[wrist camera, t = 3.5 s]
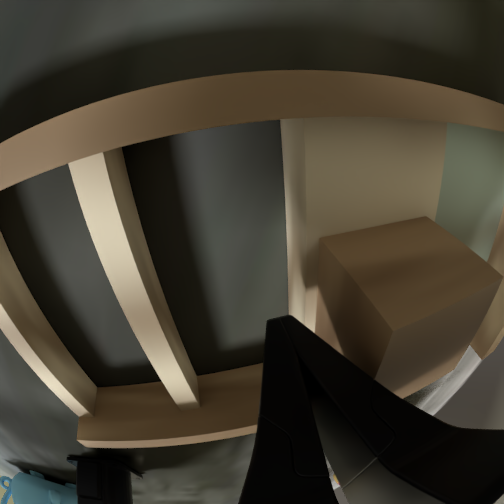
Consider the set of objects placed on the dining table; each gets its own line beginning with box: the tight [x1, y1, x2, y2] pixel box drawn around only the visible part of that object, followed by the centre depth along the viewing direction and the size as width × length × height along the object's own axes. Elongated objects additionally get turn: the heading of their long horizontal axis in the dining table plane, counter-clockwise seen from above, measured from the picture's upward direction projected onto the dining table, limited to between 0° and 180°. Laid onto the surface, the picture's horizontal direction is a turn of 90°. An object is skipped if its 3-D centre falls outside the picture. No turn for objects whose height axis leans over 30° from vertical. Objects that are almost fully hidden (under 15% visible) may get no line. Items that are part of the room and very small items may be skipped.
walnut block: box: [315, 216, 503, 399], centre depth 8 cm, size 4×4×4 cm
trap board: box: [0, 70, 504, 448], centre depth 9 cm, size 14×25×5 cm, turn 95°
